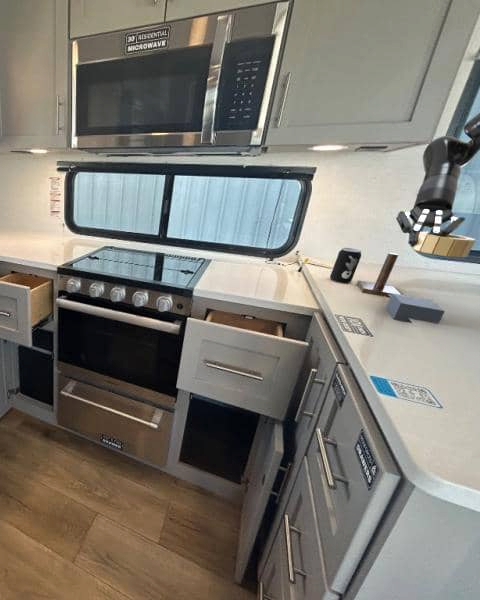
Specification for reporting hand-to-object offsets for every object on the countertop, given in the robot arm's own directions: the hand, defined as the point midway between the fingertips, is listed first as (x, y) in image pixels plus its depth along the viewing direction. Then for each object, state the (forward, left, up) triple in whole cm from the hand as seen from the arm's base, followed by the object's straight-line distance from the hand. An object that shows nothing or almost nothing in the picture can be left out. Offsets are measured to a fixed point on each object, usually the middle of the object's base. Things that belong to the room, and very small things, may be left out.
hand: (420, 245), depth 88 cm
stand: (-2, -24, -20) cm, 31 cm away
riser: (-5, -1, -20) cm, 21 cm away
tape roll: (-4, -1, -1) cm, 4 cm away
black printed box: (+8, -30, -21) cm, 37 cm away
